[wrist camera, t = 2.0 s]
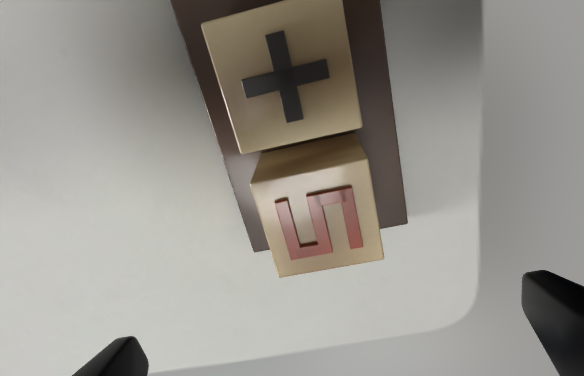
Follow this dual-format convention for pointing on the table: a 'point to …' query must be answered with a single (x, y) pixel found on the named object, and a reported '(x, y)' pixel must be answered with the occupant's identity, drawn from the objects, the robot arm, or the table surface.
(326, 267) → the letter s tile
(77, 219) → the table surface
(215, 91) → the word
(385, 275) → the table surface
